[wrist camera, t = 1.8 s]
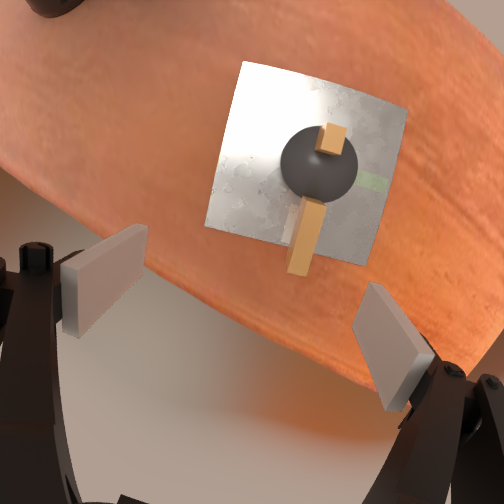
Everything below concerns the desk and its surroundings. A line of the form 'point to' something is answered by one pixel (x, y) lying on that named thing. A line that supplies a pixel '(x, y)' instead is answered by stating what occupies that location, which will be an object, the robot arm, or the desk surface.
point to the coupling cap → (315, 184)
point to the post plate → (269, 152)
